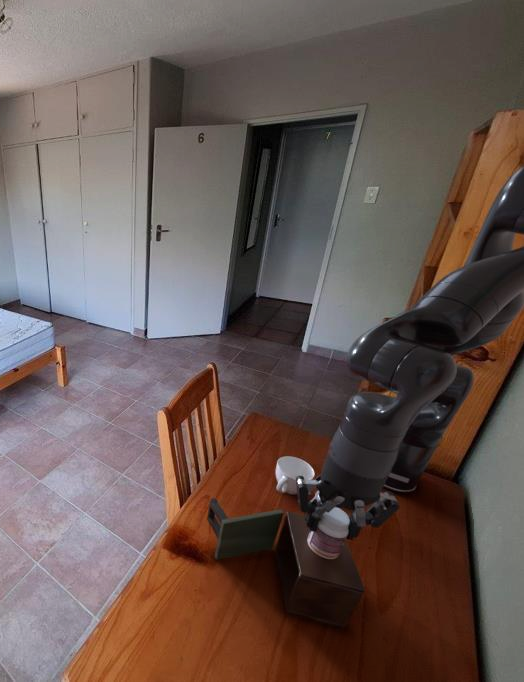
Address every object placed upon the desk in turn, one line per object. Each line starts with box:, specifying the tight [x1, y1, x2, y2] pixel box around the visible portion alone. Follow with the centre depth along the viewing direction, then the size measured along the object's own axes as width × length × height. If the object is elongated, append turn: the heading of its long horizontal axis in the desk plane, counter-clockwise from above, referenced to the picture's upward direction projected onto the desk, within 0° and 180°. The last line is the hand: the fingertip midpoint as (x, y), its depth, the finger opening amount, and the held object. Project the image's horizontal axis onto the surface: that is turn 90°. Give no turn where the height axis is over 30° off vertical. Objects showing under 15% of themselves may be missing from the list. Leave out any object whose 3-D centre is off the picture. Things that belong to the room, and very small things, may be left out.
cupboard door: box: [206, 497, 285, 561], centre depth 76 cm, size 7×13×11 cm, turn 99°
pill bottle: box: [308, 507, 350, 559], centre depth 62 cm, size 5×5×8 cm
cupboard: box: [274, 511, 366, 630], centre depth 67 cm, size 9×13×12 cm
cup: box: [275, 455, 316, 496], centre depth 87 cm, size 8×10×7 cm
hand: (329, 530), depth 62 cm, fingers closed on pill bottle, 4 cm apart
